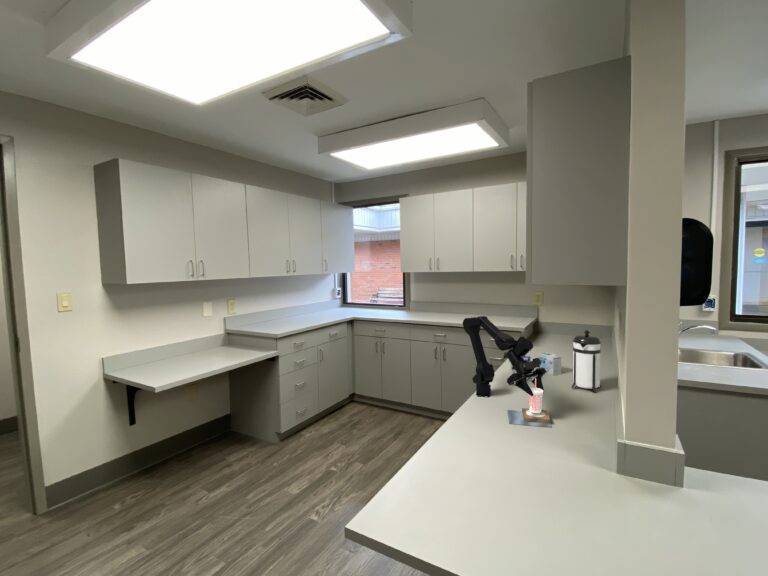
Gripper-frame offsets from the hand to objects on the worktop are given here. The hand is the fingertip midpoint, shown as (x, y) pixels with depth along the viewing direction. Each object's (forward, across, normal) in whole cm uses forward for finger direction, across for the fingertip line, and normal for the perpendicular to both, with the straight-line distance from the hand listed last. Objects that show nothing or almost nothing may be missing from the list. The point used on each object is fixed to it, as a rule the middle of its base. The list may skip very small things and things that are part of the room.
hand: (538, 394), depth 155 cm
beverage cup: (+5, 0, +6) cm, 8 cm away
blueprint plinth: (+6, -3, +9) cm, 11 cm away
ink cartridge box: (-22, +37, +39) cm, 58 cm away
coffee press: (-2, +52, +18) cm, 55 cm away
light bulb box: (-20, +57, +37) cm, 71 cm away
